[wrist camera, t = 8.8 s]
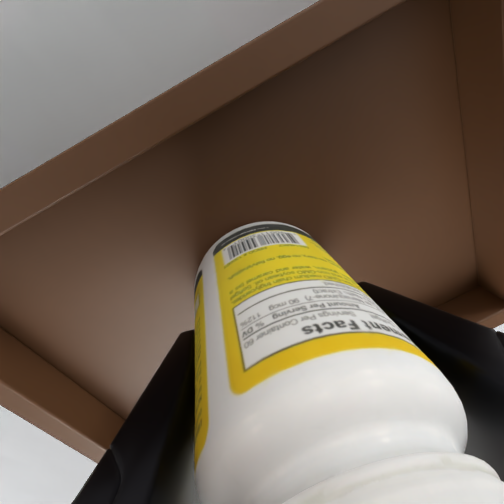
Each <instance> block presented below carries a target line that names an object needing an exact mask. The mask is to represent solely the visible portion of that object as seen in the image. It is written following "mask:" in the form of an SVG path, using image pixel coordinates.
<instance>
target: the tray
mask: <svg viewBox="0 0 504 504" xmlns="http://www.w3.org/2000/svg"><path fill="white" fill-rule="evenodd" d="M263 221H274V222H281V223H285V224H289V225H292V226H295V227H297V228H299V229H301V230H303V231H304V232H306V233H307V234H309V235H310V236H311V237H312V238H313V239H315V240H316V241H317V242H318V243H319V244H320V245H321V247H322V248H323V249H324V250H325V251H326V252H327V253H328V254H329V255H330V256H331V257H332V258H333V259H334V260H335V261H336V262H337V263H338V264H339V265H340V266H341V267H342V268H343V270H344V271H345V272H346V273H347V274H348V275H349V276H350V277H351V278H352V279H353V280H354V281H355V282H356V283H359V282H362V281H365V282H368V283H371V284H374V285H376V286H379V287H382V288H384V289H387V290H390V291H392V292H395V293H398V294H400V295H403V296H406V297H408V298H411V299H414V300H416V301H419V302H422V303H424V304H427V305H430V306H432V307H435V308H438V309H440V310H443V311H446V312H448V313H451V314H454V315H456V316H459V317H462V318H464V319H467V320H470V321H472V322H475V323H478V324H480V325H483V326H486V327H488V328H491V329H493V328H495V327H497V326H499V325H501V324H503V323H504V0H319V1H318V2H316V3H314V4H313V5H311V6H309V7H307V8H306V9H304V10H302V11H301V12H299V13H297V14H296V15H294V16H292V17H291V18H289V19H287V20H285V21H284V22H282V23H280V24H279V25H277V26H275V27H274V28H272V29H270V30H269V31H267V32H265V33H263V34H262V35H260V36H258V37H257V38H255V39H253V40H252V41H250V42H248V43H247V44H245V45H243V46H241V47H240V48H238V49H236V50H235V51H233V52H231V53H230V54H228V55H226V56H225V57H223V58H221V59H220V60H218V61H216V62H214V63H213V64H211V65H209V66H208V67H206V68H204V69H203V70H201V71H199V72H198V73H196V74H194V75H192V76H191V77H189V78H187V79H186V80H184V81H182V82H181V83H179V84H177V85H176V86H174V87H172V88H170V89H169V90H167V91H165V92H164V93H162V94H160V95H159V96H157V97H155V98H154V99H152V100H150V101H148V102H147V103H145V104H143V105H142V106H140V107H138V108H137V109H135V110H133V111H132V112H130V113H128V114H126V115H125V116H123V117H121V118H120V119H118V120H116V121H115V122H113V123H111V124H110V125H108V126H106V127H105V128H103V129H101V130H99V131H98V132H96V133H94V134H93V135H91V136H89V137H88V138H86V139H84V140H83V141H81V142H79V143H77V144H76V145H74V146H72V147H71V148H69V149H67V150H66V151H64V152H62V153H61V154H59V155H57V156H55V157H54V158H52V159H50V160H49V161H47V162H45V163H44V164H42V165H40V166H39V167H37V168H35V169H33V170H32V171H30V172H28V173H27V174H25V175H23V176H22V177H20V178H18V179H17V180H15V181H13V182H11V183H10V184H8V185H6V186H5V187H3V188H1V189H0V405H1V406H3V407H5V408H6V409H8V410H9V411H11V412H13V413H14V414H16V415H18V416H19V417H21V418H23V419H24V420H26V421H28V422H29V423H31V424H33V425H34V426H36V427H38V428H39V429H41V430H43V431H44V432H46V433H48V434H49V435H51V436H53V437H54V438H56V439H58V440H59V441H61V442H63V443H64V444H66V445H68V446H69V447H71V448H73V449H74V450H76V451H78V452H79V453H81V454H83V455H84V456H86V457H88V458H89V459H91V460H93V461H94V462H96V463H99V461H100V460H101V458H102V457H103V455H104V453H105V452H106V450H107V449H110V444H111V443H112V441H113V439H114V438H115V436H116V435H117V433H118V431H119V430H120V428H121V427H122V425H123V423H124V422H125V420H126V419H127V417H128V416H129V414H130V412H131V411H132V409H133V408H134V406H135V404H136V403H137V401H138V400H139V398H140V396H141V395H142V393H143V392H144V390H145V389H146V387H147V385H148V384H149V382H150V381H151V379H152V377H153V376H154V374H155V373H156V371H157V369H158V368H159V366H160V365H161V363H162V362H163V360H164V358H165V357H166V355H167V354H168V352H169V350H170V349H171V347H172V346H173V344H174V342H175V341H176V339H177V338H178V336H179V335H180V333H182V332H185V331H188V330H192V329H194V330H195V317H194V287H195V279H196V275H197V271H198V268H199V266H200V264H201V262H202V260H203V258H204V256H205V255H206V253H207V252H208V250H209V249H210V248H211V247H212V246H213V245H214V244H215V243H216V242H217V241H218V240H219V239H220V238H221V237H223V236H224V235H226V234H227V233H229V232H230V231H232V230H234V229H236V228H239V227H241V226H244V225H247V224H251V223H255V222H263Z"/></svg>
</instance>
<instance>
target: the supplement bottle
mask: <svg viewBox="0 0 504 504" xmlns="http://www.w3.org/2000/svg"><path fill="white" fill-rule="evenodd" d="M194 317H195V458H194V463H195V484H196V489H197V493H198V498H199V502H200V504H504V482H503V481H501V480H500V478H499V476H498V474H497V473H496V471H495V470H494V469H493V468H492V467H491V466H490V465H489V464H487V463H486V462H485V461H483V460H481V459H479V458H476V457H474V456H471V455H467V454H464V453H465V449H466V445H467V440H468V433H467V419H466V414H465V411H464V408H463V405H462V402H461V400H460V399H459V397H458V395H457V393H456V391H455V390H454V388H453V386H452V385H451V384H450V383H449V381H448V380H447V379H446V378H445V376H444V375H443V374H442V373H441V371H440V370H439V369H438V368H437V367H436V366H435V365H434V363H433V362H432V361H431V360H430V359H429V358H428V357H427V356H426V355H425V354H424V353H423V352H422V351H421V350H420V349H419V348H418V347H417V346H416V345H415V344H414V343H413V342H412V341H411V340H410V339H409V338H408V336H407V335H406V334H405V333H404V332H403V331H402V330H401V329H400V328H399V327H398V326H397V325H396V324H395V323H394V322H393V321H392V320H391V319H390V318H389V317H388V316H387V315H386V314H385V312H384V311H383V310H382V309H381V308H380V307H379V306H378V305H377V304H376V303H375V302H374V301H373V300H372V299H371V298H370V297H369V296H368V295H367V294H366V292H365V291H364V290H363V289H362V288H361V287H360V286H359V285H358V284H357V283H356V282H355V281H354V280H353V279H352V278H351V277H350V276H349V275H348V274H347V273H346V272H345V271H344V270H343V268H342V267H341V266H340V265H339V264H338V263H337V262H336V261H335V260H334V259H333V258H332V257H331V256H330V255H329V254H328V253H327V252H326V251H325V250H324V249H323V248H322V247H321V245H320V244H319V243H318V242H317V241H316V240H315V239H313V238H312V237H311V236H310V235H309V234H307V233H306V232H304V231H303V230H301V229H299V228H297V227H295V226H292V225H289V224H285V223H281V222H274V221H263V222H255V223H251V224H247V225H244V226H241V227H239V228H236V229H234V230H232V231H230V232H229V233H227V234H226V235H224V236H223V237H221V238H220V239H219V240H218V241H217V242H216V243H215V244H214V245H213V246H212V247H211V248H210V249H209V250H208V252H207V253H206V255H205V256H204V258H203V260H202V262H201V264H200V266H199V268H198V271H197V275H196V279H195V287H194Z"/></svg>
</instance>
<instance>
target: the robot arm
mask: <svg viewBox="0 0 504 504" xmlns="http://www.w3.org/2000/svg"><path fill="white" fill-rule="evenodd" d="M357 284H358V285H359V286H360V287H361V288H362V289H363V290H364V291H365V292H366V294H367V295H368V296H369V297H370V298H371V299H372V300H373V301H374V302H375V303H376V304H377V305H378V306H379V307H380V308H381V309H382V310H383V311H384V312H385V314H386V315H387V316H388V317H389V318H390V319H391V320H392V321H393V322H394V323H395V324H396V325H397V326H398V327H399V328H400V329H401V330H402V331H403V332H404V333H405V334H406V335H407V336H408V338H409V339H410V340H411V341H412V342H413V343H414V344H415V345H416V346H417V347H418V348H419V349H420V350H421V351H422V352H423V353H424V354H425V355H426V356H427V357H428V358H429V359H430V360H431V361H432V362H433V363H434V365H435V366H436V367H437V368H438V369H439V370H440V371H441V373H442V374H443V375H444V376H445V378H446V379H447V380H448V381H449V383H450V384H451V385H452V386H453V388H454V390H455V391H456V393H457V395H458V397H459V399H460V400H461V402H462V405H463V408H464V411H465V414H466V419H467V433H468V440H467V445H466V449H465V453H464V454H467V455H471V456H474V457H476V458H479V459H481V460H483V461H485V462H486V463H487V464H489V465H490V466H491V467H492V468H493V469H494V470H495V471H496V473H497V474H498V476H499V478H500V480H501V481H503V482H504V333H502V332H499V331H497V332H496V331H495V330H494V329H491V328H488V327H486V326H483V325H480V324H478V323H475V322H472V321H470V320H467V319H464V318H462V317H459V316H456V315H454V314H451V313H448V312H446V311H443V310H440V309H438V308H435V307H432V306H430V305H427V304H424V303H422V302H419V301H416V300H414V299H411V298H408V297H406V296H403V295H400V294H398V293H395V292H392V291H390V290H387V289H384V288H382V287H379V286H376V285H374V284H371V283H368V282H365V281H362V282H359V283H357ZM194 458H195V330H194V329H192V330H188V331H185V332H182V333H180V335H179V336H178V338H177V339H176V341H175V342H174V344H173V346H172V347H171V349H170V350H169V352H168V354H167V355H166V357H165V358H164V360H163V362H162V363H161V365H160V366H159V368H158V369H157V371H156V373H155V374H154V376H153V377H152V379H151V381H150V382H149V384H148V385H147V387H146V389H145V390H144V392H143V393H142V395H141V396H140V398H139V400H138V401H137V403H136V404H135V406H134V408H133V409H132V411H131V412H130V414H129V416H128V417H127V419H126V420H125V422H124V423H123V425H122V427H121V428H120V430H119V431H118V433H117V435H116V436H115V438H114V439H113V441H112V443H111V444H110V449H107V450H106V452H105V453H104V455H103V457H102V458H101V460H100V461H99V463H98V465H97V466H96V468H95V469H94V471H93V472H92V474H91V475H90V477H89V478H88V480H87V481H86V483H85V484H84V486H83V487H82V489H81V490H80V492H79V494H78V495H77V496H76V498H75V499H74V501H73V502H72V503H71V504H200V502H199V498H198V493H197V489H196V484H195V463H194Z"/></svg>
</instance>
